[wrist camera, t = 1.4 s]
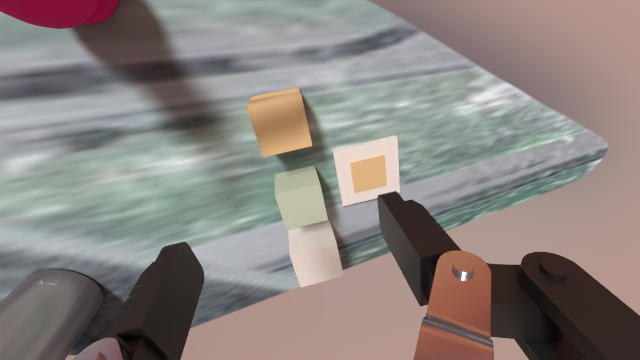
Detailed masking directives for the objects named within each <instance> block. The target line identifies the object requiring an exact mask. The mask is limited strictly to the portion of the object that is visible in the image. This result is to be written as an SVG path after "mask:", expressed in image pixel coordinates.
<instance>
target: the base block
mask: <svg viewBox="0 0 640 360" xmlns="http://www.w3.org/2000/svg"><path fill="white" fill-rule="evenodd" d="M288 235H289V250H290V258H291V260H292V263H293V266H294V269H295V272H296V275H297V278H298V281H299V284H300V287H304V286H308V285H312V284H316V283H320V282H323V281H327V280H331V279H334V278H339V277H343V271H342V266H341V262H340V257H339V252H338V248H337V243H336V240H335V237H334V233H333V230H332V227H331V223H330V221H326V222H322V223H318V224H314V225H310V226H306V227H302V228H298V229H294V230H290V231H288Z"/></svg>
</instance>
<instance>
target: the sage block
mask: <svg viewBox="0 0 640 360" xmlns="http://www.w3.org/2000/svg"><path fill="white" fill-rule="evenodd" d="M275 197H276V200H277V203H278V206H279V209H280V212H281V215H282V218H283V221H284V225H285V228H286V231H287V230H291V229H295V228H299V227H303V226H307V225H311V224H315V223H319V222H323V221H327V220H328V218H327V213H326V208H325V204H324V199H323V195H322V190H321V185H320V182H319V179H318V175H317V172H316V169H315V166H314V165H313V166H309V167H305V168H300V169H296V170H292V171H288V172H284V173H279V174H275Z"/></svg>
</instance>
